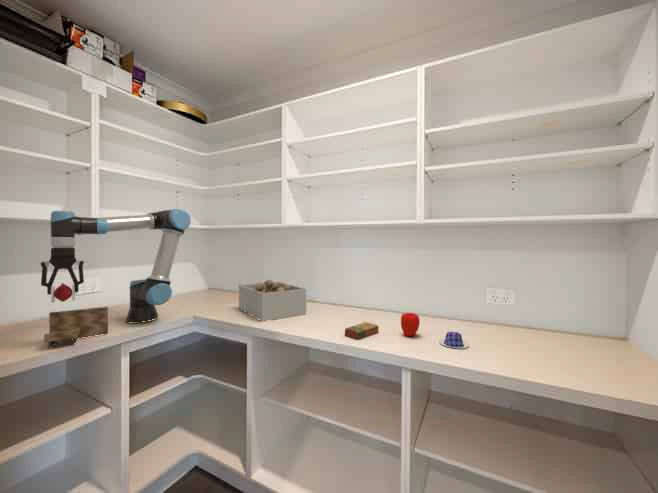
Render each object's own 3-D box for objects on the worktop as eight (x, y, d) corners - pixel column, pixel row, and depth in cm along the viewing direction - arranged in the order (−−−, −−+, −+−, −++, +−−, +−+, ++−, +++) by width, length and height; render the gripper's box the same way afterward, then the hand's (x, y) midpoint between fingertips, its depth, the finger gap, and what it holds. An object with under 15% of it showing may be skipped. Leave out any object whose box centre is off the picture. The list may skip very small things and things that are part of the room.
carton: (378, 333, 140) (378, 325, 140) (357, 341, 129) (357, 332, 129) (365, 329, 146) (365, 321, 146) (344, 336, 135) (344, 327, 135)
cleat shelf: (79, 338, 129) (79, 324, 129) (77, 345, 120) (77, 330, 120) (49, 343, 123) (49, 328, 123) (44, 350, 114) (44, 334, 114)
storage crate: (278, 303, 206) (278, 281, 206) (306, 314, 175) (306, 288, 175) (238, 309, 188) (239, 285, 188) (262, 322, 158) (262, 293, 158)
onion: (75, 299, 125) (75, 281, 125) (68, 302, 120) (68, 283, 120) (58, 300, 123) (58, 282, 123) (50, 303, 118) (50, 284, 118)
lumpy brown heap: (296, 319, 163) (296, 284, 163) (251, 318, 165) (252, 283, 165) (306, 305, 201) (306, 276, 201) (269, 304, 203) (270, 276, 202)
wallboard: (107, 333, 136) (107, 306, 136) (107, 334, 134) (107, 307, 134) (50, 341, 124) (50, 312, 124) (49, 343, 123) (49, 313, 122)
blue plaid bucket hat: (462, 340, 130) (462, 329, 130) (473, 350, 118) (473, 338, 118) (435, 339, 131) (435, 328, 131) (444, 349, 119) (444, 337, 119)
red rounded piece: (416, 339, 130) (416, 316, 130) (398, 336, 135) (398, 313, 135) (421, 334, 138) (421, 312, 138) (403, 331, 142) (403, 310, 142)
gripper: (92, 246, 130) (92, 297, 130) (33, 247, 118) (34, 302, 119) (91, 247, 124) (91, 299, 124) (29, 247, 112) (29, 305, 113)
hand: (63, 300), depth 121 cm, fingers closed on onion, 6 cm apart
